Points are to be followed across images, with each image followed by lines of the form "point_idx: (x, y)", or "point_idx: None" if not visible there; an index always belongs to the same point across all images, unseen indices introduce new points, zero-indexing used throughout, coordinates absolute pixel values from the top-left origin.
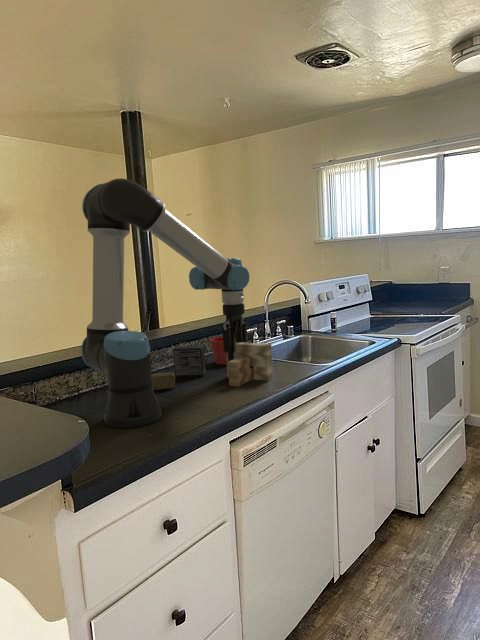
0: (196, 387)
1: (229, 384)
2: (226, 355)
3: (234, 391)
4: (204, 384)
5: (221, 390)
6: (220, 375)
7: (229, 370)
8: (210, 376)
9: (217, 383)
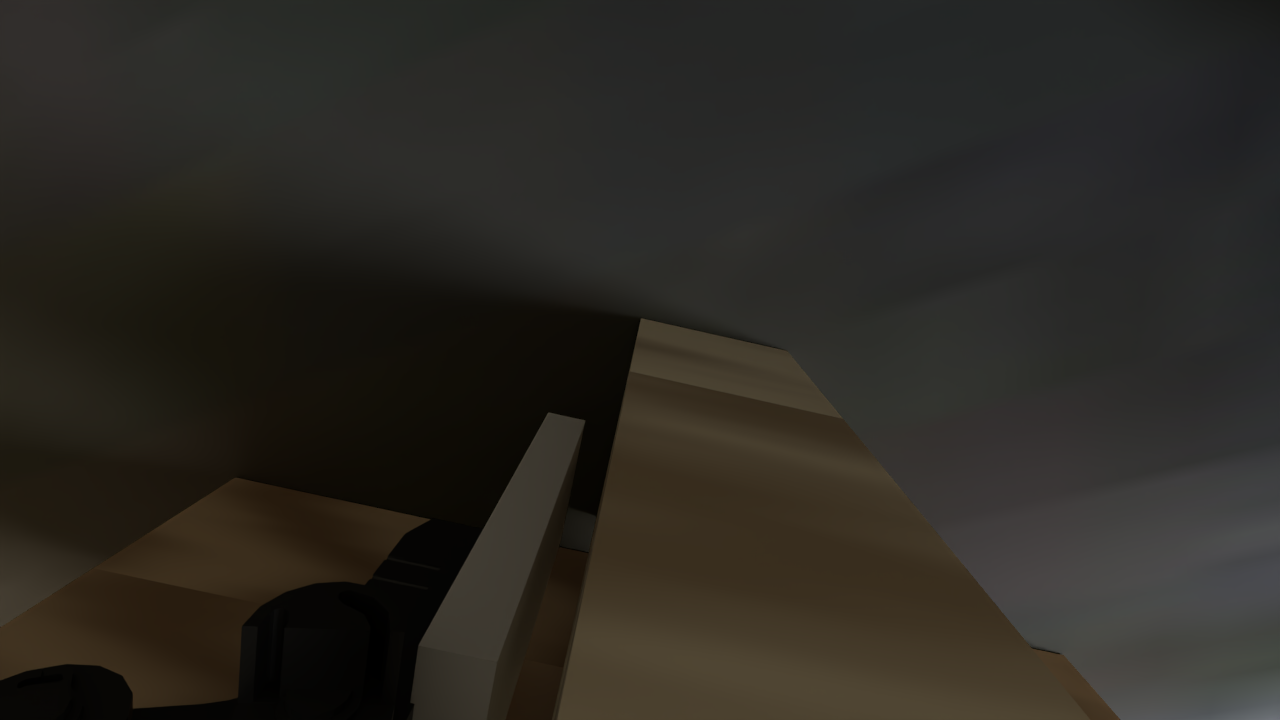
0: (10, 35)
1: (225, 487)
2: (615, 458)
3: (43, 599)
4: (190, 100)
5: (21, 446)
6: (734, 166)
7: (37, 625)
8: (657, 4)
9: (291, 284)
